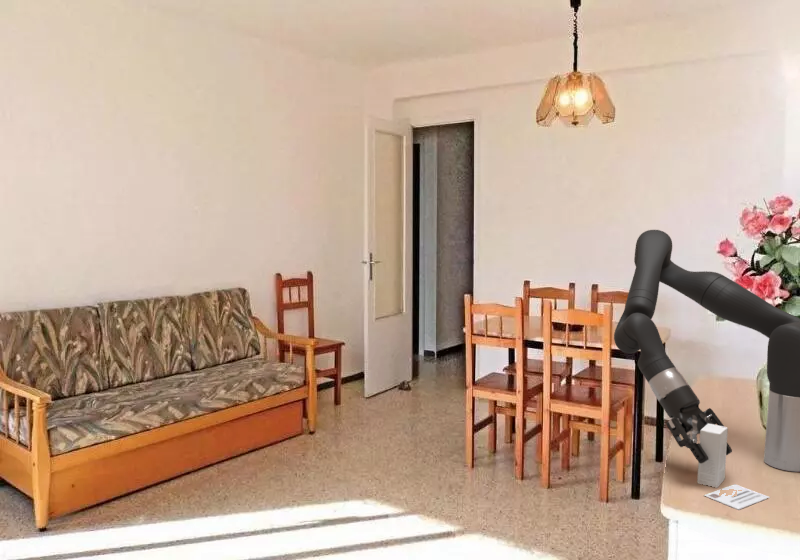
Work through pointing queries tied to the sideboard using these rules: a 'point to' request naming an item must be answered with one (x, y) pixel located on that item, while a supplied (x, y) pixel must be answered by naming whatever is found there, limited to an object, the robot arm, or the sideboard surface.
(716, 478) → the skincare box
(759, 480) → the sideboard surface
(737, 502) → the letter
